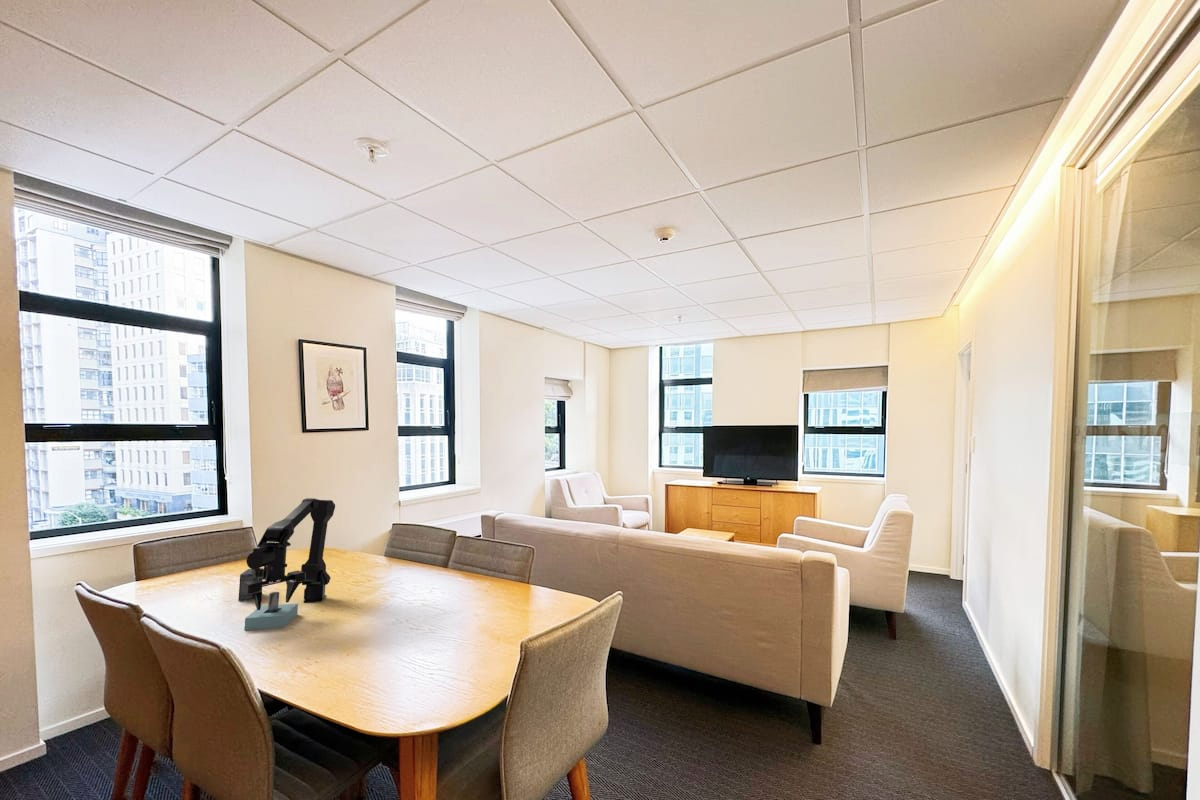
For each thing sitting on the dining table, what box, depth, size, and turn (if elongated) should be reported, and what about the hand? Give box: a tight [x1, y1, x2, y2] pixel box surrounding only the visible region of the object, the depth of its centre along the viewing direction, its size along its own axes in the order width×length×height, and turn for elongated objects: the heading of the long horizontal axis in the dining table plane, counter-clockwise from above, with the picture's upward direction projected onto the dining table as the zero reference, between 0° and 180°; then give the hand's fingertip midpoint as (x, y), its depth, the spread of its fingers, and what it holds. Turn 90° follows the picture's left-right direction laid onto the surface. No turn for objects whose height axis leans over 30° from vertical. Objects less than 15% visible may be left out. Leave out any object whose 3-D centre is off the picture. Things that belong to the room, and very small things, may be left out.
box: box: [238, 567, 264, 602], centre depth 191 cm, size 8×6×11 cm
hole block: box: [243, 603, 299, 631], centre depth 167 cm, size 12×12×4 cm
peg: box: [267, 591, 280, 613], centre depth 167 cm, size 3×3×10 cm
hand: (273, 606), depth 167 cm, fingers open, 9 cm apart
